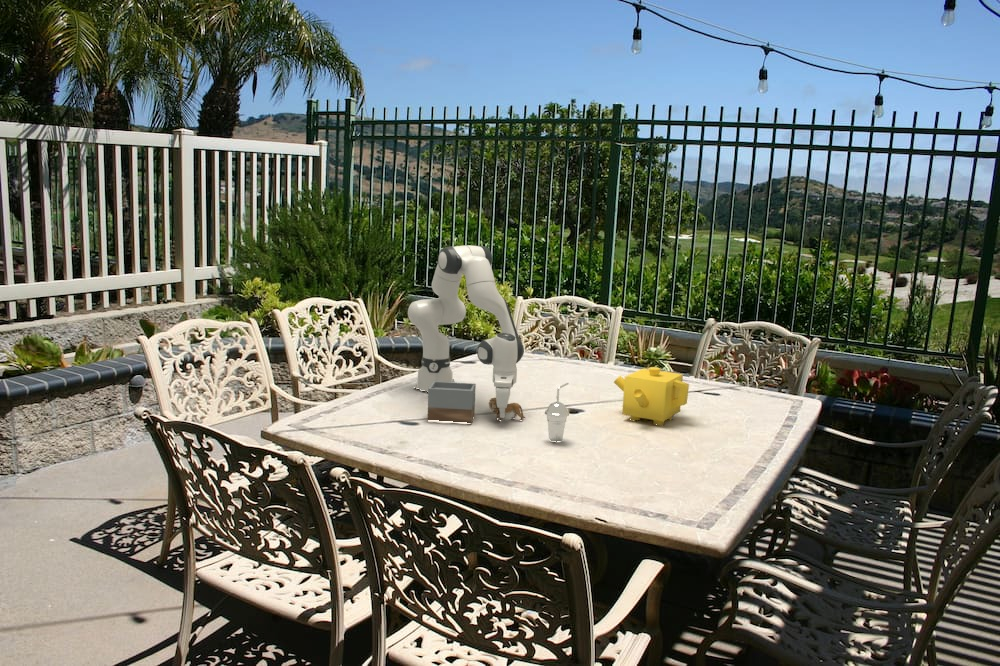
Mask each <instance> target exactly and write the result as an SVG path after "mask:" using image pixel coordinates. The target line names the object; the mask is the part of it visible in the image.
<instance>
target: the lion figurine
mask: <svg viewBox="0 0 1000 666" xmlns="http://www.w3.org/2000/svg"><path fill="white" fill-rule="evenodd" d="M488 407H489V410H490V411H491V412H492V413H493V414H496V418H499V420H502V421H503V418H501V417H500V410H499V408H498V407H497V403H496V397H492V398H490V399H489V402H488ZM511 412H512V413H513V416H512V417H511V418H515V419H516V418H517V416H518V417H520V419H519V420H523V421H524V418H525V419H526V417H525V416H524V411H523V408H522V406H521V405H520V404H519V403H517V402H511V403H508V404H507V408H505V414H510V413H511Z"/></svg>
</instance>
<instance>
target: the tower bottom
mask: <svg viewBox="0 0 1000 666" xmlns="http://www.w3.org/2000/svg"><path fill="white" fill-rule="evenodd" d="M475 412H476V402H475V403H474V406H473V408H472V410H465V409H447V408H429V407H428V406H427V421H428V420H439V421H453V422H467V423H471V422H472V423H473V421H474V419H473V417H474V418H475ZM472 420H473V421H472Z"/></svg>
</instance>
